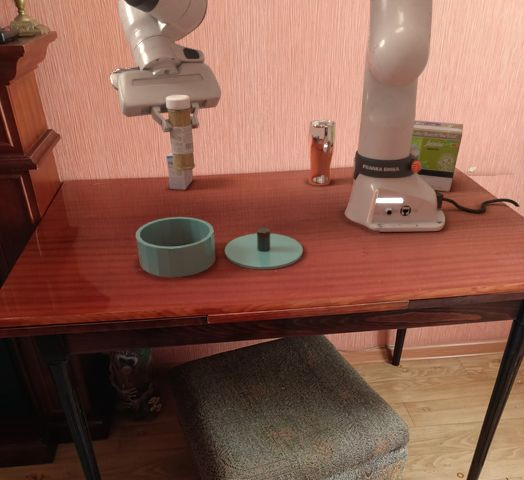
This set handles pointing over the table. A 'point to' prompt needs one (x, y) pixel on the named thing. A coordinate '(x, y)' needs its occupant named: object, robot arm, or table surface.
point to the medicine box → (178, 175)
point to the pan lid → (263, 250)
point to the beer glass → (321, 151)
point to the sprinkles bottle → (181, 132)
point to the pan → (177, 257)
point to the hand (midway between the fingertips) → (182, 128)
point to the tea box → (436, 151)
